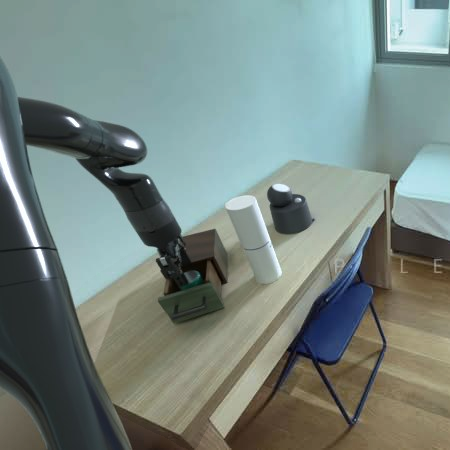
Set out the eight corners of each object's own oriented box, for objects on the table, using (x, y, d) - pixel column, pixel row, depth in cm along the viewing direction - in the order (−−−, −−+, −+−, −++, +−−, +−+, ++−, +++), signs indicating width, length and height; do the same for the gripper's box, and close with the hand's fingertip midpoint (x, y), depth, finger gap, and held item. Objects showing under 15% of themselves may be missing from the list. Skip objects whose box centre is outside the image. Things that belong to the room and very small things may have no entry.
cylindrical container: (250, 281, 89) (218, 207, 74) (266, 265, 94) (238, 193, 80) (271, 286, 87) (242, 211, 73) (286, 269, 92) (261, 196, 78)
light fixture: (305, 190, 100) (259, 196, 97) (315, 230, 109) (273, 237, 106) (305, 173, 110) (264, 178, 108) (314, 210, 119) (276, 216, 117)
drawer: (223, 319, 77) (210, 296, 72) (171, 337, 73) (154, 314, 68) (224, 274, 90) (213, 253, 85) (179, 288, 86) (165, 266, 82)
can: (204, 303, 80) (192, 284, 76) (184, 304, 80) (171, 285, 75) (213, 288, 84) (202, 269, 80) (194, 288, 84) (182, 270, 80)
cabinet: (227, 282, 89) (214, 256, 83) (177, 297, 85) (159, 270, 79) (227, 253, 100) (215, 228, 94) (183, 265, 96) (167, 240, 90)
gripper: (140, 209, 72) (172, 262, 81) (125, 243, 61) (164, 299, 71) (176, 201, 75) (204, 253, 84) (168, 232, 64) (200, 287, 73)
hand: (185, 274), depth 77 cm, fingers open, 7 cm apart
